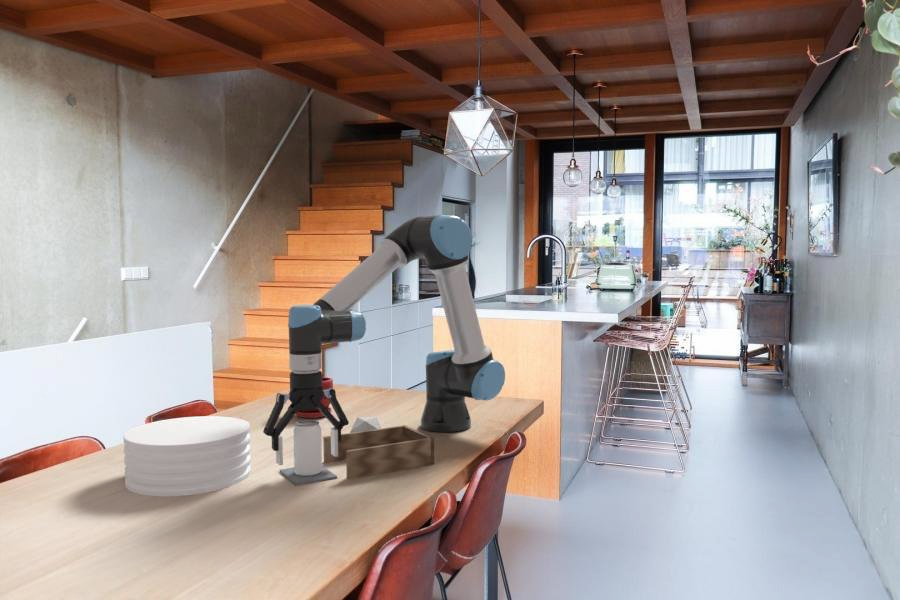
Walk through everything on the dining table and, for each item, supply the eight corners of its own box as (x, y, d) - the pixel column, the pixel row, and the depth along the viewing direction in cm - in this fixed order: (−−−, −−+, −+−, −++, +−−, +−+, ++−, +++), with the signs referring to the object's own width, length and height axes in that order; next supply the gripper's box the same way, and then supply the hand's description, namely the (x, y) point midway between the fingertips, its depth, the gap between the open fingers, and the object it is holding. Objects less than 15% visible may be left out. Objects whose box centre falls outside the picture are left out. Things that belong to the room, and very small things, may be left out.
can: (296, 469, 176) (295, 420, 175) (323, 468, 176) (322, 419, 175) (292, 477, 169) (291, 426, 168) (320, 476, 170) (319, 425, 169)
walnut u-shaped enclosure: (405, 449, 195) (404, 425, 194) (434, 463, 181) (434, 438, 180) (323, 462, 183) (323, 436, 183) (348, 479, 169) (347, 451, 169)
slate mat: (318, 465, 180) (318, 463, 180) (337, 478, 170) (337, 476, 170) (279, 471, 175) (279, 469, 175) (295, 485, 165) (295, 483, 165)
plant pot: (341, 413, 238) (341, 377, 237) (313, 421, 227) (313, 383, 226) (312, 409, 245) (311, 374, 244) (283, 416, 234) (283, 380, 233)
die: (369, 456, 190) (389, 423, 193) (340, 438, 192) (361, 406, 194) (372, 459, 198) (391, 427, 201) (344, 442, 200) (364, 410, 202)
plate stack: (130, 505, 153) (128, 451, 152) (121, 470, 178) (119, 424, 177) (263, 484, 166) (261, 435, 165) (237, 454, 191) (236, 411, 190)
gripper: (257, 378, 161) (259, 471, 163) (361, 368, 174) (362, 455, 175) (248, 373, 168) (250, 463, 169) (349, 364, 180) (350, 448, 182)
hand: (307, 459), depth 172 cm, fingers open, 13 cm apart
